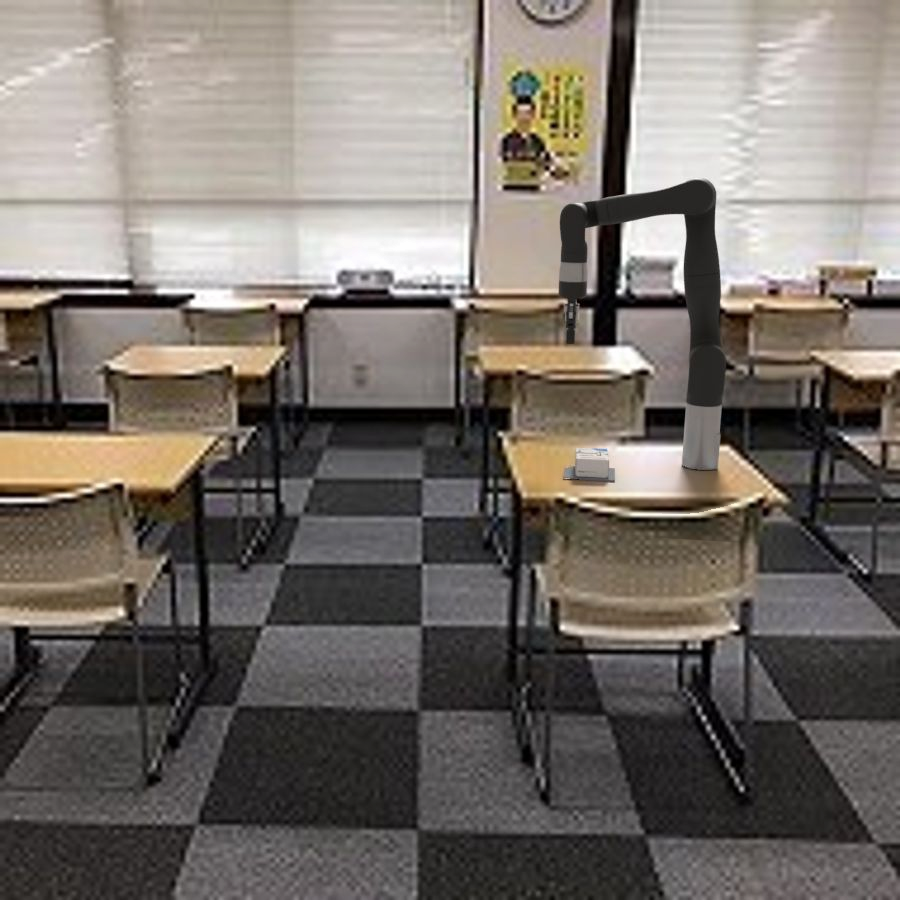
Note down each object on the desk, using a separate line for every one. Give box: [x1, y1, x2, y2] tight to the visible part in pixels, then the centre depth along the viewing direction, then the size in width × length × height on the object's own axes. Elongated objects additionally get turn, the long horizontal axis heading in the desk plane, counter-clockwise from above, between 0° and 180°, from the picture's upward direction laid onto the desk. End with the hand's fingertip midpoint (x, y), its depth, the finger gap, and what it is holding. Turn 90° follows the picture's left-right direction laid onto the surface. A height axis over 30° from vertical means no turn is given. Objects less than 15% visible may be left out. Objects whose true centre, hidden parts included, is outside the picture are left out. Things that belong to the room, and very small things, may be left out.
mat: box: [562, 465, 616, 483], centre depth 271 cm, size 13×12×1 cm
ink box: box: [574, 447, 610, 478], centre depth 272 cm, size 9×5×12 cm
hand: (570, 343), depth 284 cm, fingers closed
